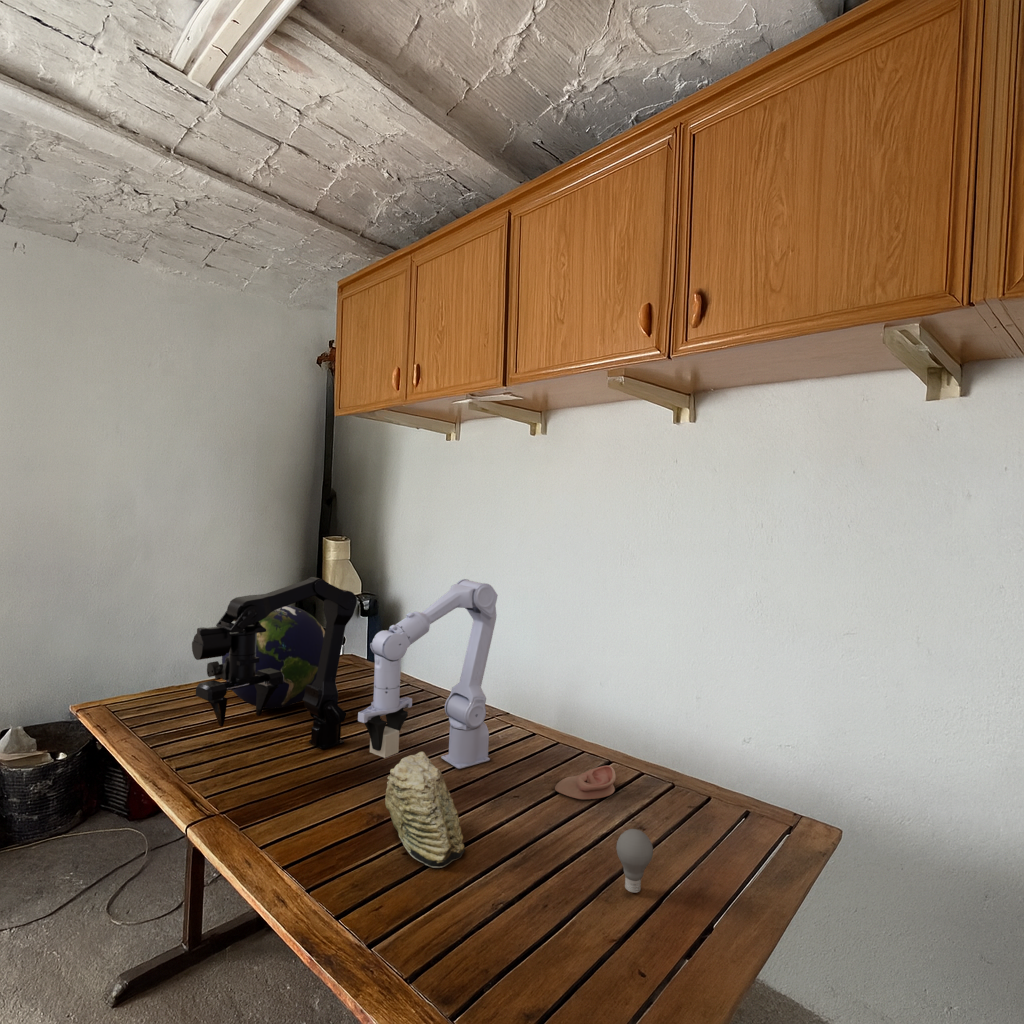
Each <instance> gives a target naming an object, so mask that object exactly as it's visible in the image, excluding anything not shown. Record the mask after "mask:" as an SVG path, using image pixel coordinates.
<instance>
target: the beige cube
mask: <svg viewBox="0 0 1024 1024" xmlns="http://www.w3.org/2000/svg"><path fill="white" fill-rule="evenodd" d="M399 748H400V733H399V731H398V730H396V729H393V728H390V727H387V725H386V726H385V729H384V733H383V740H382V747H381V750H380V751H377V750H375V749H373V748H372V743H371V739H370V738H369V753H370V754H373V755H376V756H378V757H381V758H384V759H386V758H388V757H391V756H393V755H396V754H398V753H399V752H400V751H399Z"/></svg>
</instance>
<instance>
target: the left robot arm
mask: <svg viewBox="0 0 1024 1024" xmlns="http://www.w3.org/2000/svg"><path fill="white" fill-rule="evenodd" d="M312 597H316V598H317V599H319V600H320V601H322V602H323V613H324V618H325V622H326V624H325V629H324V631H325V634H324V639H323V644H322V650H321V655H320V660H319V665H318V671H317V676H316V679H315V681H314V682H313V683H312V685H306V687H305V695H304V698H303V700H302V701H303V702H304V703H303V704H304V705H303V707H304V708H305V710H306V711H307V712H309V715H310V718H313V721H312V722H313V723H312V727H311V730H310V731H311V732H310V733H311V735H310V739H309V740H308V743H309V744H310V745H313V746H314V747H316V748H318V749H320V750H327V749H329V748H333V747H336V746H340V745H343V744H344V743H345V741H344V740H343V739H341V737H342V735H341V733H342V723H344V722H345V720H346V717H347V712H346V711H345V710H344V709H342V707H340V706H339V691H338V686H337V683H336V680H337V676H338V675H337V674H338V669H339V663H340V658H341V653H342V648H343V644H344V643H343V642H344V637H345V632H346V628H347V625H348V623H349V622H350V620H352V618H353V617H354V614H355V611H356V609H357V605H358V597H357V596H356V595H355V593H354V592H352V591H350V590H346V589H342V588H339V587H337V586H335V585H333V584H331V583H329V582H327V581H326V580H325V579H323V578H319V577H316V576H311V577H309V578H307V579H305V580H301V581H299V582H296V583H293V584H290V585H286V586H285V587H281V588H278V589H276V590H272V591H269V592H266V593H262V594H248V595H242V596H238V597H237V596H236V597H234V598H232V599H231V600H230V601H229V603H228V605H227V608H226V611H225V612H224V614H223V615H222V616H221V617H220V619H219V621H218V622H217V623H216V624H215V626H212V627H197V628H196V633H195V634H194V637H193V639H192V641H191V651H192V652H191V653H192V655H193V657H194V659H195V660H196V661H201V660H207V659H213V658H220V657H221V658H222V656H225V655H226V654H227V653H229V657H226V659H225V663H224V664H222V663H221V664H220V663H219V661H217V660H216V661H212V662H207V663H206V664H207V665H206V675H207V677H208V678H212V677H214V679H213V680H208V681H207V680H206V681H202V682H199V683H198V684H197V686H196V687H195V697H197V698H200V699H202V700H203V701H204V700H205V701H207V702H209V703H210V704H209V705H211V708H212V710H213V713H214V715H215V718H216V720H217V723H218V726H220V727H224V725H225V722H226V713H227V706H228V698H227V697H226V695H227V694H228V691H232V690H233V689H237V688H242V687H246V686H250V685H255V688H256V690H257V698H256V706H255V714H256V716H257V717H260V716H261V715H262V713H263V711H264V710H265V709H266V708H265V706H266V704H267V702H268V700H269V699H270V697H271V695H272V694H273V692H274V691H275V689H276V688H278V687H279V684H283V683H284V675H283V673H282V672H281V671H278V670H275V669H272V668H267V669H263V670H258V671H257V672H256V674H255V670H256V663H257V662H259V658H258V657H256V643H257V633H260V632H266V629H265V628H264V627H263V626H262V625H261V624H260V622H259V621H261V620H262V619H264V618H266V617H267V616H268V615H269V614H270V613H271V612H273V611H275V610H277V609H279V608H282V607H285V606H288V605H289V606H291V605H292V604H297V603H298V602H301V601H304V600H306V599H309V598H312ZM221 679H222V680H223V681H225V682H220V681H218V680H221ZM226 680H228V682H227V681H226ZM234 684H237V685H234Z"/></svg>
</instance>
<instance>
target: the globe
mask: <svg viewBox="0 0 1024 1024" xmlns="http://www.w3.org/2000/svg"><path fill="white" fill-rule="evenodd" d="M259 622H260V624H261V625H262V626H263V627H264V628H265V629H266V632H260V633H257V643H256V657H258V658H259V662H257V663H256V670H255V674H256V672H257V671H258V670H263V669H267V668H272V669H275V670H278V671H281V672H282V673H283V675H284V683H283V684H279V687H278V688H276V689H275V691H274V692H273V694H272V695H271V697H270V699H269V700H268V702H267V704H266V706H265V708H264V709H282V708H285V707H289V706H293V705H295V704H298V703H299V702H301V701H303V698H304V695H305V687H306V685H312V683H313V682H314V681H315V679H316V676H317V671H318V665H319V660H320V655H321V650H322V644H323V639H324V634H325V629H324V627H323V626H322V624H321V623H320V621H318V619H317V618H315V616H314V615H312V614H311V613H310V612H308V611H305V610H304V609H302V608H299V607H297V606H292V605H288V606H285V607H282V608H279V609H277V610H275V611H273V612H271V613H270V614H269V615H268V616H267V617H266V618H264V619H262V620H261V621H259ZM226 657H229V653H227V654H226V655H225V656H221V664H224V663H225V659H226ZM225 682H228V680H225ZM234 685H237V684H234ZM231 691H232V692H233V693H234V694H235V695H236V696H237V697H238V698H239V699H240V700H242V701H244V702H245V703H247V704H248V705H251V706H254V707H256V698H257V690H256V688H255V685H250V686H246V687H242V688H237V689H233V690H231Z"/></svg>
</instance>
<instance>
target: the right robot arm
mask: <svg viewBox="0 0 1024 1024" xmlns="http://www.w3.org/2000/svg"><path fill="white" fill-rule="evenodd" d="M497 601H498V593H497V592H496V590H495V589H494V587H493V586H492V585H491V584H489V583H485V582H484V583H483V582H478V581H473V580H470V579H467V578H463V579H460V580H458V582H456V583H454V584H452V585H451V586H450V587H449V589H448V591H447V592H445V593H444V594H443V595H441V596H440V597H439V598H438V599H436V600H435V601H434V602H433V603H432V604H430V605H429V606H428V607H426V608H425V609H424V610H423V611H421V612H420V611H413V612H411V611H408V613H406V614H405V618H403V619H401V620H400V621H398V622H397V623H395V624H392V625H390V626H389V628H388V630H387V629H385V630H383V629H382V630H380V631H378V632H377V633H376V634H375V635H374V637H373V639H372V642H370V643H369V646H370V647H369V648H370V650H371V652H372V653H373V654H374V673H373V698H372V701H371V702H370V705H369V706H368V707H366V708H365V709H362V710H361V711H358V713H357V722H359V723H363V724H364V725H365V727H366V729H367V732H368V734H369V740H370V739H371V743H372V748H373V749H375V750H377V751H380V750H381V747H382V740H383V733H384V729H385V726H387V727H390V728H393V729H396V730H398V731H399V734H400V733H401V729H402V727H403V725H404V723H405V721H406V720H407V718H408V717H409V712H408V711H407V710H405V709H406V708H408V709H410V708H412V707H413V698H412V697H408V696H404V697H401V698H400V695H401V669H402V658H403V657H404V656H405V655H406V654H407V650H408V648H409V647H411V645H412V644H414V643H416V642H417V641H418V640H419V639H421V638H422V637H424V636H425V635H426V634H428V633H429V632H430V628H431V625H432V624H434V623H435V622H437V621H438V620H440V619H441V618H442V617H444V616H446V615H448V614H449V613H450V612H452V611H454V610H455V609H458V608H459V609H466V611H467V612H468V614H469V615H470V617H471V619H472V625H471V628H470V633H469V636H468V637H469V638H468V642H467V645H466V646H467V647H466V652H465V656H464V660H463V663H462V669H461V672H460V677H459V682H457V683H456V684H455V685H454V686H453V687H451V689H450V694H449V696H448V697H447V698H446V700H445V702H444V713H445V715H446V716H447V717H448V722H449V735H448V736H449V737H448V753H447V754H444V755H441V756H440V759H442V760H443V761H445V762H446V763H448V764H449V765H451V766H452V767H454V768H456V769H457V770H462V769H466V768H469V767H473V766H475V765H478V764H483V763H486V762H490V761H491V758H490V757H489V744H490V731H489V728H488V725H487V723H485V722H484V721H485V719H486V716H487V708H486V702H487V696H486V694H485V692H484V690H483V688H482V685H483V680H484V676H485V672H486V667H487V662H488V657H489V654H490V653H489V652H490V648H491V644H492V640H493V635H494V631H495V625H496V621H497V607H496V605H497ZM382 716H385V719H386V720H383V719H382V718H381V717H382Z"/></svg>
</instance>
